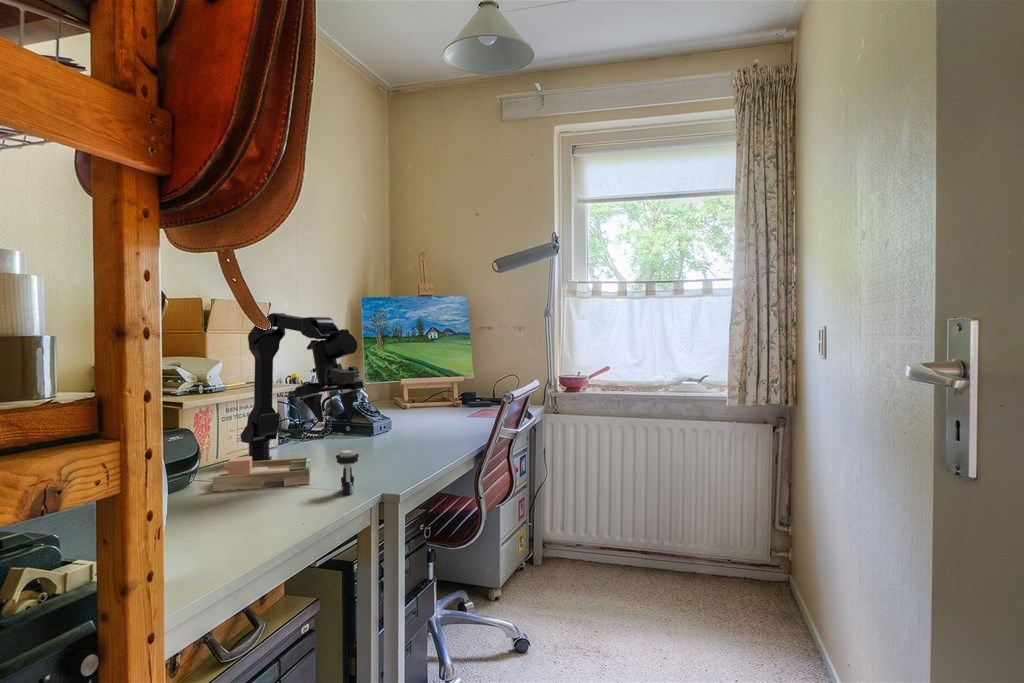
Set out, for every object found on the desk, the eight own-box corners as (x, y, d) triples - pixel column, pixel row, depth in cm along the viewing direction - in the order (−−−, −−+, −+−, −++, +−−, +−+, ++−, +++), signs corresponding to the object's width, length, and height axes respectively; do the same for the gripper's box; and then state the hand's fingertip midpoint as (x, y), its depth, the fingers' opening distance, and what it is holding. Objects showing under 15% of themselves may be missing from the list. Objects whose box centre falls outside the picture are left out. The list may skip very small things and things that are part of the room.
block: (231, 472, 150) (231, 457, 150) (252, 471, 152) (252, 456, 152) (228, 477, 146) (228, 461, 146) (249, 475, 147) (249, 460, 147)
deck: (224, 476, 155) (224, 461, 155) (310, 469, 162) (310, 455, 162) (213, 492, 140) (213, 475, 140) (309, 484, 146) (309, 468, 146)
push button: (335, 489, 142) (334, 448, 142) (357, 487, 144) (357, 447, 144) (336, 496, 136) (336, 454, 135) (360, 494, 138) (359, 452, 137)
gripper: (316, 357, 143) (326, 419, 141) (372, 354, 158) (382, 410, 157) (288, 366, 149) (298, 426, 147) (345, 363, 164) (354, 417, 163)
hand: (335, 419), depth 153 cm, fingers open, 9 cm apart
